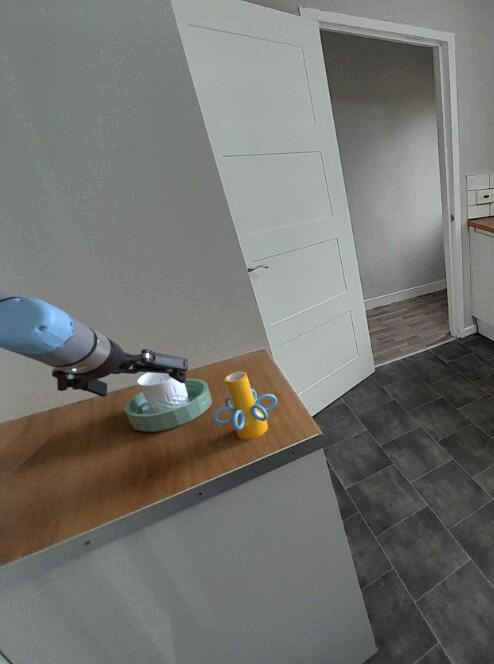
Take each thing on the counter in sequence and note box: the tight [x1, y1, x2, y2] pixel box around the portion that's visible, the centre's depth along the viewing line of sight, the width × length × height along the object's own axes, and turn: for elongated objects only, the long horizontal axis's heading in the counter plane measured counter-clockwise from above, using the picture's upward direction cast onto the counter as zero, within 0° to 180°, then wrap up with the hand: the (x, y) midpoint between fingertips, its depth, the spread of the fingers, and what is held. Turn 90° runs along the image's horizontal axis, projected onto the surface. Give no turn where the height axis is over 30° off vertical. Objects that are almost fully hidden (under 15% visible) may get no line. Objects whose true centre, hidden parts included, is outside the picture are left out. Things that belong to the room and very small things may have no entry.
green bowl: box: [123, 378, 213, 433], centre depth 98 cm, size 16×16×5 cm
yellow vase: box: [212, 371, 278, 441], centre depth 90 cm, size 12×10×15 cm
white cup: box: [136, 372, 190, 413], centre depth 97 cm, size 8×8×10 cm
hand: (145, 383), depth 88 cm, fingers open, 13 cm apart
